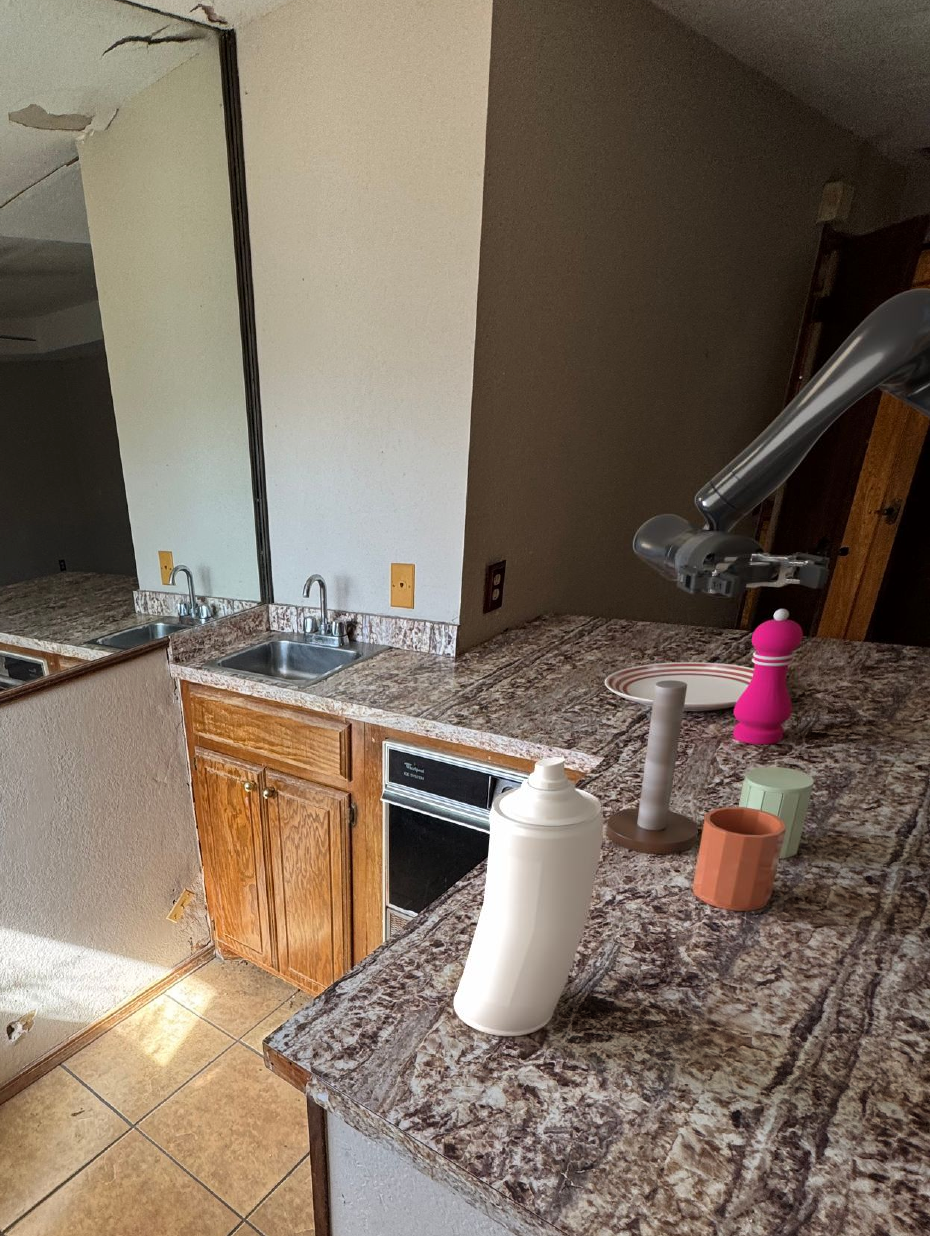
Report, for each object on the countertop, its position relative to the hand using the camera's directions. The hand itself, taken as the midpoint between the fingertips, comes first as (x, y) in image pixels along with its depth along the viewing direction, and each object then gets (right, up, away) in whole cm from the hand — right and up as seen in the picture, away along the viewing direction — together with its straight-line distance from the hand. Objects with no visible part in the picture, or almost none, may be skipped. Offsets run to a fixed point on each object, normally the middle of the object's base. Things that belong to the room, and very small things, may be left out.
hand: (778, 583), depth 83 cm
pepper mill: (+22, -14, +33) cm, 42 cm away
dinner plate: (+23, -4, +53) cm, 58 cm away
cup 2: (-7, -35, -2) cm, 36 cm away
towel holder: (-8, -29, +12) cm, 32 cm away
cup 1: (+3, -30, +6) cm, 31 cm away
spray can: (-34, -44, -12) cm, 57 cm away
